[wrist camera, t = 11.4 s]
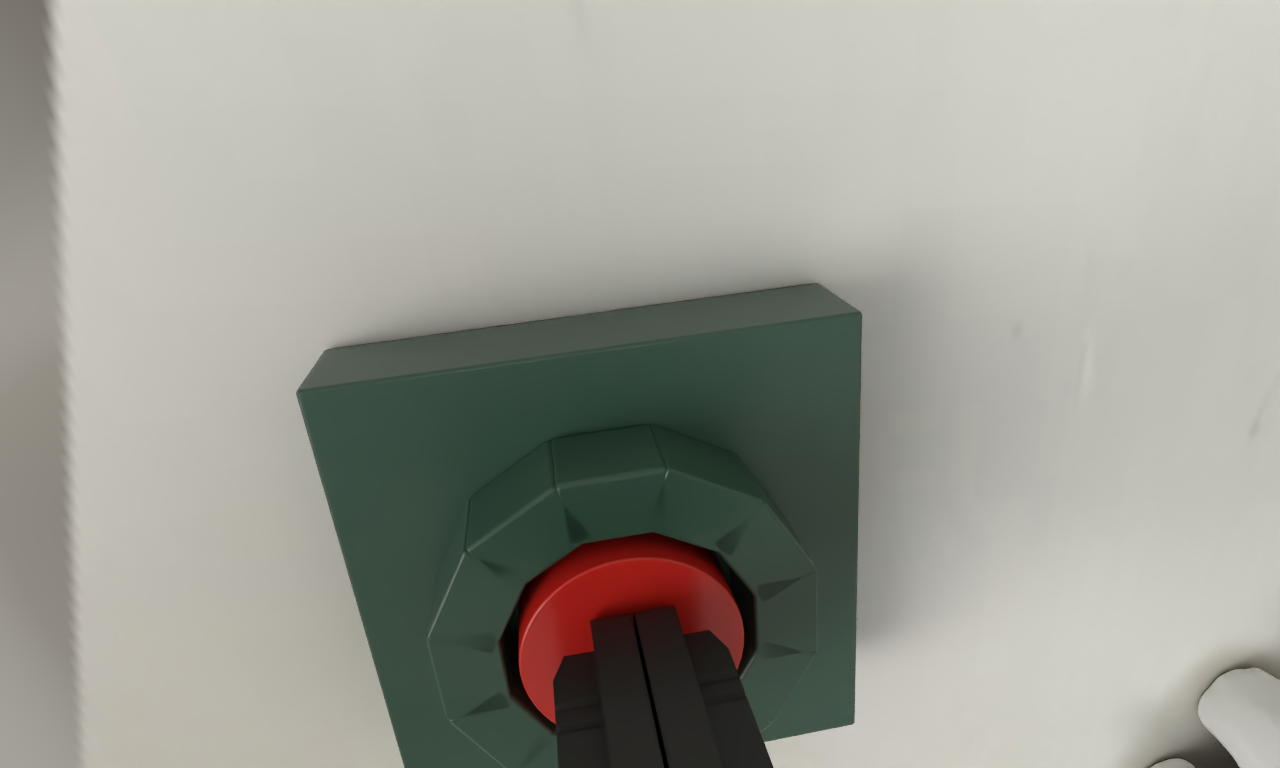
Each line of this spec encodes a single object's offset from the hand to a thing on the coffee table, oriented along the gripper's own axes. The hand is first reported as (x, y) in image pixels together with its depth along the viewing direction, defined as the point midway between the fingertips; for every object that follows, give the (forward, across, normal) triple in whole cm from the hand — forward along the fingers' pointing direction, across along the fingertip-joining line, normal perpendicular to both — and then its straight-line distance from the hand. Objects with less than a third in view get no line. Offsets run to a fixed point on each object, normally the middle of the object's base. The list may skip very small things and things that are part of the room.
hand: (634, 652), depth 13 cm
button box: (+4, 0, 0) cm, 4 cm away
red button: (+2, 0, 0) cm, 2 cm away
